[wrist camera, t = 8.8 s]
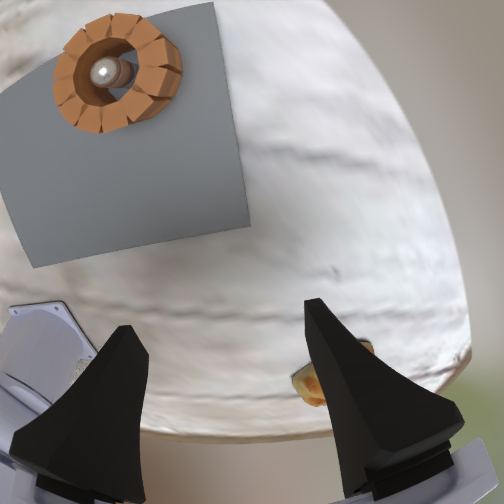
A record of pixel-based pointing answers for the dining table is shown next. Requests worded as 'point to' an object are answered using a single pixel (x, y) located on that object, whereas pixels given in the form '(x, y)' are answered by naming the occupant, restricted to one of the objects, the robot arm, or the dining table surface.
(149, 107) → the bead
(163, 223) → the grey rectangular slab
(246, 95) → the dining table surface
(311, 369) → the pastry
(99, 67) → the metal post
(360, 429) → the robot arm
